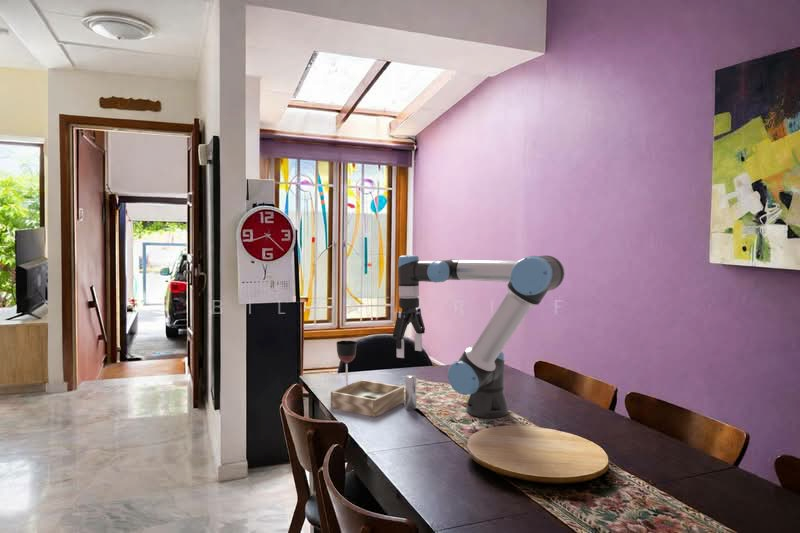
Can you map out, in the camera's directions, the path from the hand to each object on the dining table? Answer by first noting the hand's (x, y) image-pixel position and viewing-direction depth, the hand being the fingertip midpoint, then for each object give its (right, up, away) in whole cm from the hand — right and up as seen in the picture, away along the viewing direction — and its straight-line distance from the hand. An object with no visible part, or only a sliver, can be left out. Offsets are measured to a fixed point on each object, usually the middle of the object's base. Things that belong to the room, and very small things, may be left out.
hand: (409, 354), depth 196 cm
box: (-16, -20, +5) cm, 26 cm away
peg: (0, -20, +1) cm, 20 cm away
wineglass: (-26, -19, +25) cm, 41 cm away
